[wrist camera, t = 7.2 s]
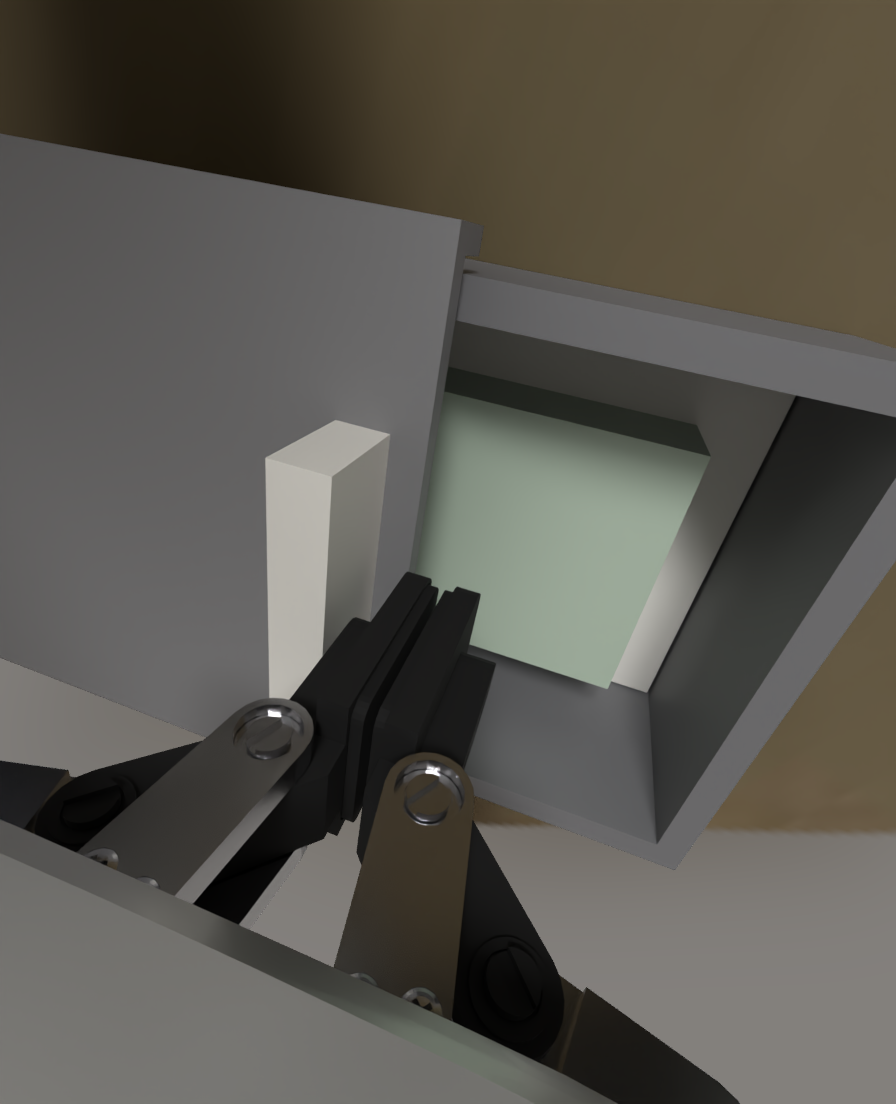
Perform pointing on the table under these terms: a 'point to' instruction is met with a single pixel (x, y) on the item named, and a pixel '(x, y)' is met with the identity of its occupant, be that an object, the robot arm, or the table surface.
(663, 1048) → the robot arm
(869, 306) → the table surface
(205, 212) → the lid
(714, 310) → the base
